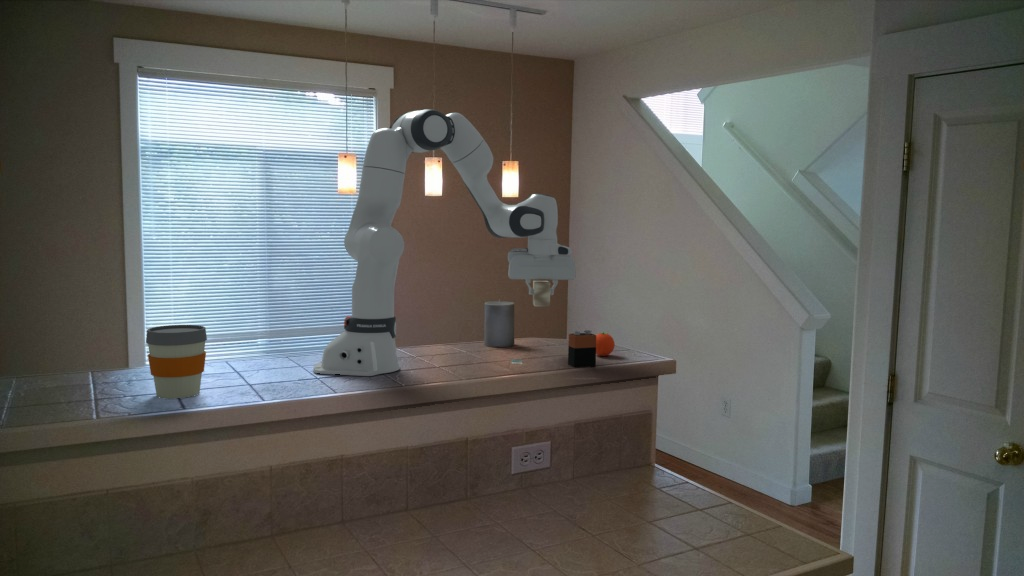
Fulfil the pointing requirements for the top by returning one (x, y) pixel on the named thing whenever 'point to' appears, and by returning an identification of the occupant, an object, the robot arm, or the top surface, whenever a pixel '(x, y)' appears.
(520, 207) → the robot arm
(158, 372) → the reusable coffee cup
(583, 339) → the battery
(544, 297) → the block
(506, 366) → the top surface
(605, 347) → the clementine
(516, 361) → the board
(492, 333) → the pillar candle
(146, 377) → the top surface
